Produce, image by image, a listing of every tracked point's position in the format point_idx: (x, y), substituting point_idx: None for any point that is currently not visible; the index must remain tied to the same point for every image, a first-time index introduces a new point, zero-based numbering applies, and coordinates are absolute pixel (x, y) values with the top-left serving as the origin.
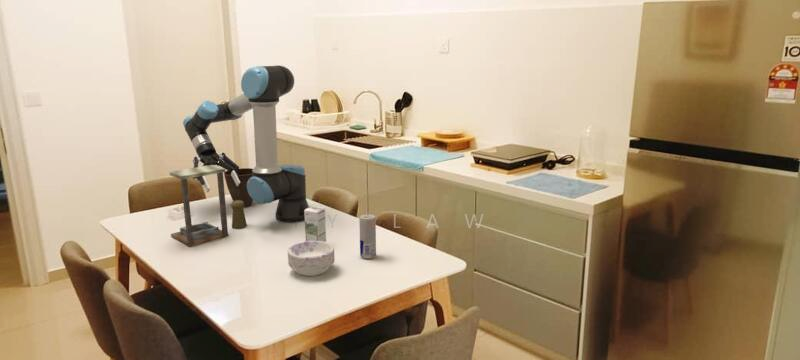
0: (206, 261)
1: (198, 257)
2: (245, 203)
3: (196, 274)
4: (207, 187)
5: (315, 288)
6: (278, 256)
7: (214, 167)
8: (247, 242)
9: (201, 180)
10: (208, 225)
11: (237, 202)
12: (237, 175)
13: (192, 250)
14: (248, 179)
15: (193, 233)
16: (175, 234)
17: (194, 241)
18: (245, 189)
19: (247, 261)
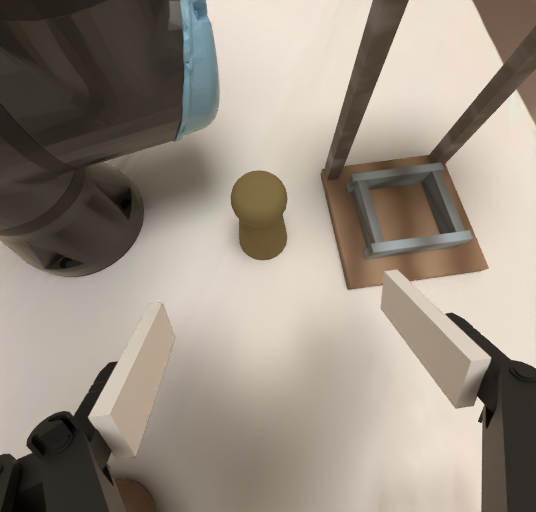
0: (409, 67)
1: (422, 93)
2: (122, 480)
3: (437, 28)
4: (404, 282)
5: None
6: (271, 25)
7: None
8: (294, 115)
9: (474, 334)
10: (375, 212)
11: (264, 175)
12: (109, 374)
13: (430, 136)
14: None
15: (434, 164)
16: (473, 252)
17: (423, 163)
18: None
19: (333, 32)
